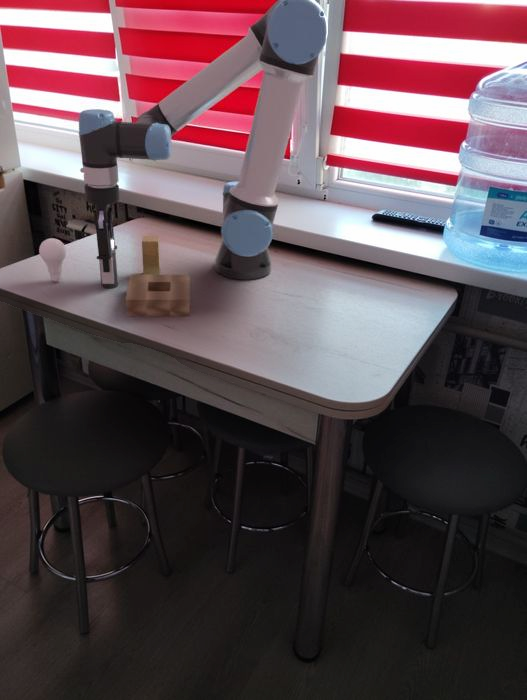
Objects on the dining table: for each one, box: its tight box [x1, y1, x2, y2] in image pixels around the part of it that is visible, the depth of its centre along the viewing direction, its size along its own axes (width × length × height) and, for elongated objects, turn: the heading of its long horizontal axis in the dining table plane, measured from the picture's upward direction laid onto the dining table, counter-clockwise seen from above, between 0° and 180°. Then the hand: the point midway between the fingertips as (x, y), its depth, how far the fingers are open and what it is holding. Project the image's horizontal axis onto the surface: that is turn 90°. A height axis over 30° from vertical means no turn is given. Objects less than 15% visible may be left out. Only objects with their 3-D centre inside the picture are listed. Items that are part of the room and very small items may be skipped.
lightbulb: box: [38, 237, 67, 283], centre depth 144 cm, size 6×6×11 cm
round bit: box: [98, 236, 119, 290], centre depth 143 cm, size 4×4×12 cm
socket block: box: [125, 273, 191, 317], centre depth 139 cm, size 14×14×4 cm
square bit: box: [141, 235, 161, 275], centre depth 150 cm, size 4×4×10 cm
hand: (109, 279), depth 145 cm, fingers closed on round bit, 4 cm apart
